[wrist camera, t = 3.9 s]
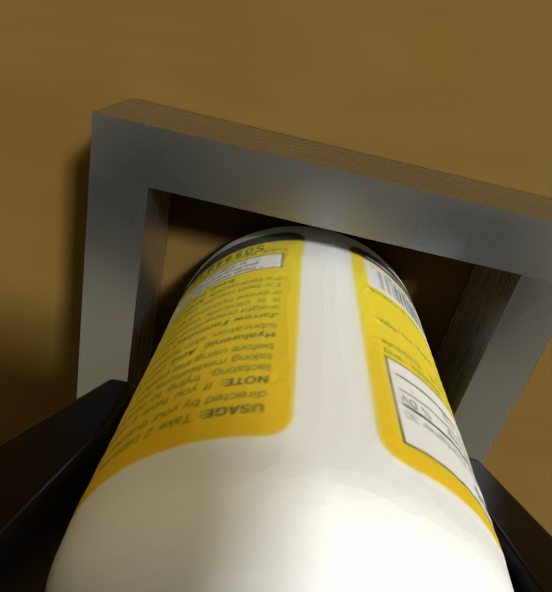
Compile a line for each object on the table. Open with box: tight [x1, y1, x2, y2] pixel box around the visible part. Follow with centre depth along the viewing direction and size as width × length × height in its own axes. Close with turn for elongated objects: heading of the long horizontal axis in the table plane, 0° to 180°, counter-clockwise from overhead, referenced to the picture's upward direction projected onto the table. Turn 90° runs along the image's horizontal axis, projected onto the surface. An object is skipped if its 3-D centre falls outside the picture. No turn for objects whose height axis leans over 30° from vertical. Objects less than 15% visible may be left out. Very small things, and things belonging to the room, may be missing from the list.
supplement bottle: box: [45, 226, 514, 592], centre depth 8 cm, size 5×5×10 cm
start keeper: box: [77, 98, 552, 464], centre depth 11 cm, size 8×8×2 cm
